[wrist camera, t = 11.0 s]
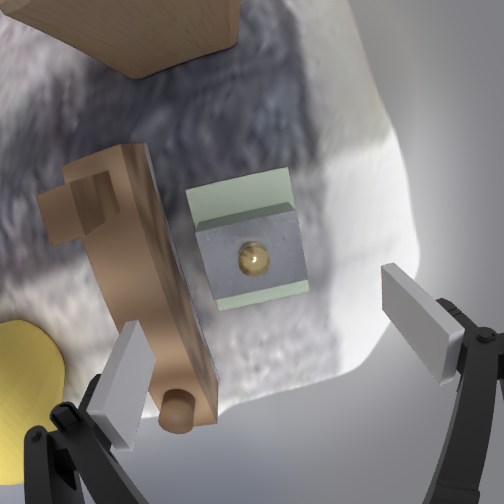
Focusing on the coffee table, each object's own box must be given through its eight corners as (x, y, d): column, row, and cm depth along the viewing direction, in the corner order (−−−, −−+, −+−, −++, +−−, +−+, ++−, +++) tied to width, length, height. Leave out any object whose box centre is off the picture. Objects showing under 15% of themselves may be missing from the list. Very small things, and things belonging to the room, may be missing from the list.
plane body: (95, 159, 26) (12, 178, 14) (147, 142, 26) (84, 146, 14) (176, 384, 35) (161, 475, 23) (219, 378, 35) (217, 472, 23)
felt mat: (186, 189, 28) (185, 190, 27) (286, 166, 28) (287, 167, 27) (219, 308, 32) (218, 311, 31) (308, 288, 32) (309, 291, 31)
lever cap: (198, 221, 28) (193, 237, 24) (288, 201, 28) (299, 213, 24) (215, 282, 30) (213, 307, 26) (299, 264, 30) (311, 285, 26)
